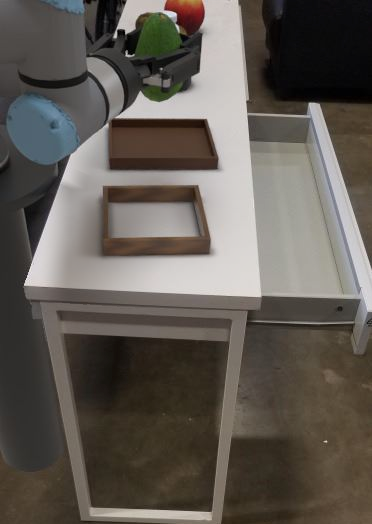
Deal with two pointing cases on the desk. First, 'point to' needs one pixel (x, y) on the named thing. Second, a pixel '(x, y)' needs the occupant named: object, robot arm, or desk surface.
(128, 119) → the tray
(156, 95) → the avocado
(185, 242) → the wooden frame
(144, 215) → the desk surface
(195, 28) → the fruit
